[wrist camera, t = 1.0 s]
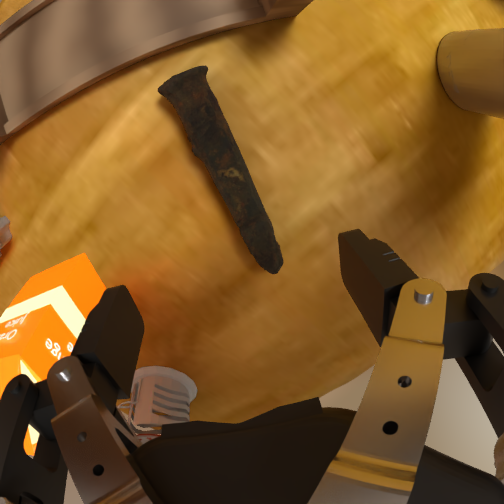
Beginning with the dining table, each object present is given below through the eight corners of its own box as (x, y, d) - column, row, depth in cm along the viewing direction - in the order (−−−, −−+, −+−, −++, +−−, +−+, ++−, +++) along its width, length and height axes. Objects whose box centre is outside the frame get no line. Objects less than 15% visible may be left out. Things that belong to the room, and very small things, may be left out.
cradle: (258, -76, 15) (275, -128, 7) (296, 15, 20) (334, -18, 12) (-25, 58, 16) (-83, 61, 8) (-1, 145, 21) (-60, 170, 13)
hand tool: (161, 85, 22) (149, 83, 18) (206, 65, 22) (204, 58, 18) (245, 268, 31) (250, 295, 27) (283, 253, 31) (294, 279, 27)
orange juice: (120, 310, 31) (74, 481, 14) (65, 327, 32) (10, 470, 14) (84, 250, 28) (-11, 418, 10) (29, 276, 28) (-58, 414, 11)
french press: (168, 414, 41) (166, 567, 19) (103, 379, 37) (73, 547, 15) (212, 389, 39) (225, 567, 17) (142, 347, 34) (115, 555, 12)
